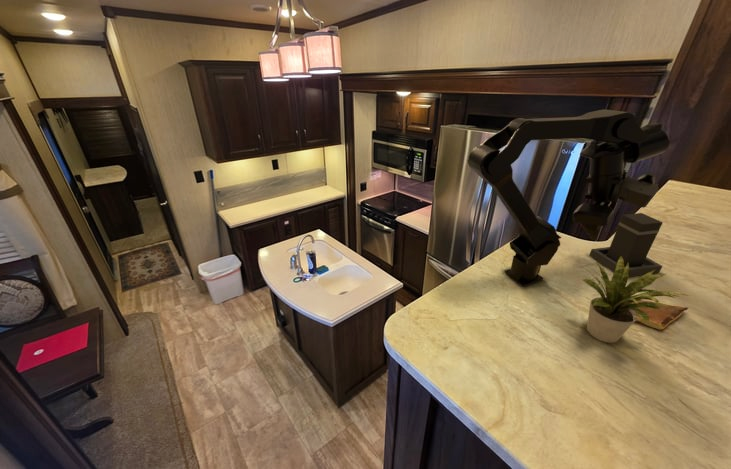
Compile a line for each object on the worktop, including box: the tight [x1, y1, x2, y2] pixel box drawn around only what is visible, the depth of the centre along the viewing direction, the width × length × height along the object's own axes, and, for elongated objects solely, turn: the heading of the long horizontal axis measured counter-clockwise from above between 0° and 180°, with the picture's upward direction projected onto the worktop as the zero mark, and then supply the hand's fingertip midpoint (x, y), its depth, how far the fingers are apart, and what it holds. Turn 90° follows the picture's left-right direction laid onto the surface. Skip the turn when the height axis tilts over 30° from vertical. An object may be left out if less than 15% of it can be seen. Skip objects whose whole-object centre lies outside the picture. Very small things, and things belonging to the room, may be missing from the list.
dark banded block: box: [606, 212, 663, 268], centre depth 73 cm, size 5×6×13 cm
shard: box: [634, 299, 689, 331], centre depth 59 cm, size 11×8×2 cm
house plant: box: [581, 256, 690, 343], centre depth 53 cm, size 14×14×16 cm
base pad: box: [589, 246, 663, 278], centre depth 76 cm, size 10×10×2 cm
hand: (600, 229), depth 70 cm, fingers open, 9 cm apart
